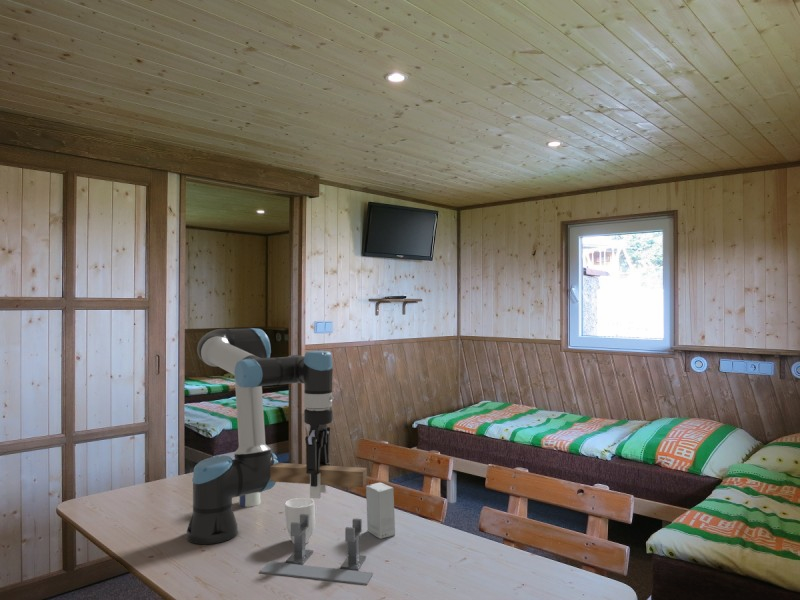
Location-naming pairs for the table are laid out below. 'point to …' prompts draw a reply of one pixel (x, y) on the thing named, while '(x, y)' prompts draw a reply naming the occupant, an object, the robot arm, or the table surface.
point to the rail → (328, 475)
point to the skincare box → (380, 510)
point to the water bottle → (250, 500)
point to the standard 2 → (353, 546)
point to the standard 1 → (299, 541)
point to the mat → (317, 572)
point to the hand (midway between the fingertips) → (318, 494)
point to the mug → (296, 509)
